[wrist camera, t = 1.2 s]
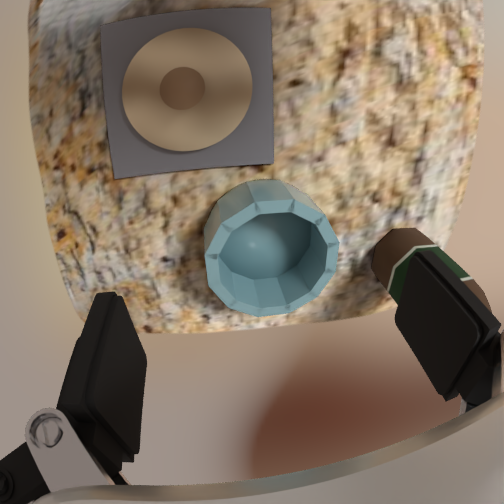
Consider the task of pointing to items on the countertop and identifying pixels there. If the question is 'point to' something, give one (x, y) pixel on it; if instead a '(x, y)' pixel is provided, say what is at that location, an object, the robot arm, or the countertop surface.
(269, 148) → the mat
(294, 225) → the bowl
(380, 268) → the beer bottle
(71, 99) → the countertop surface
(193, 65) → the lid
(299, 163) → the countertop surface
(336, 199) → the countertop surface
